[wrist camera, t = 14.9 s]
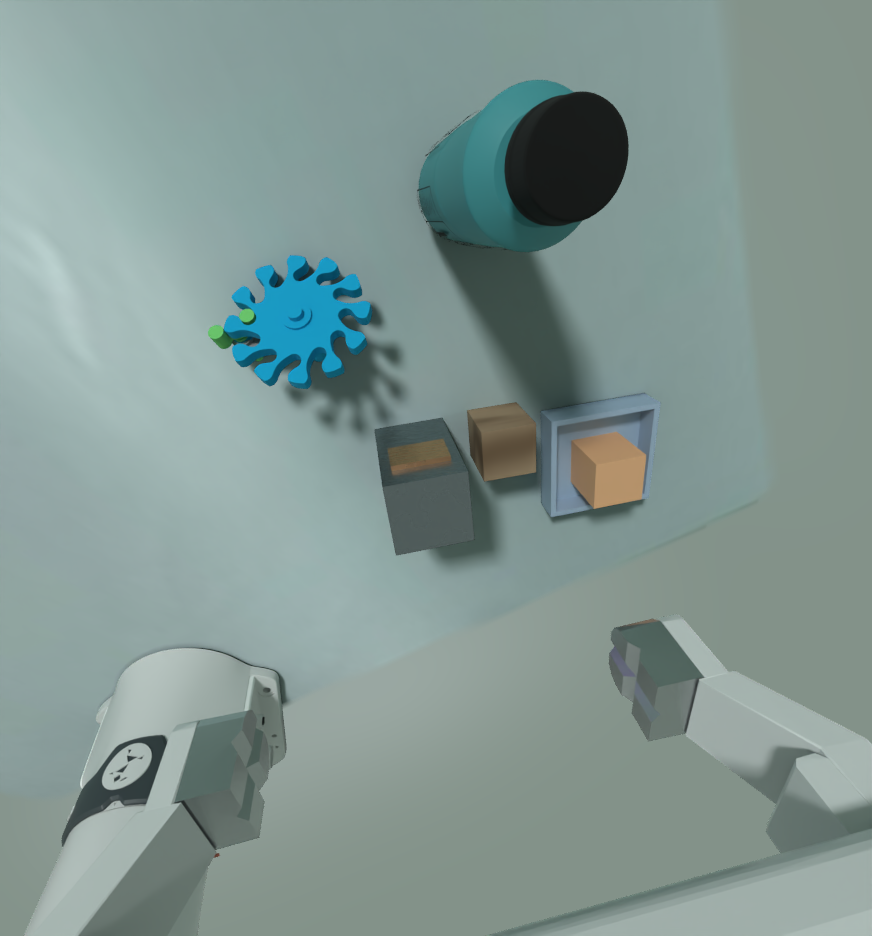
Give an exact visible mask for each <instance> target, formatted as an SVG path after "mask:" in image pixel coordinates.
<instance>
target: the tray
mask: <svg viewBox="0 0 872 936" xmlns="http://www.w3.org/2000/svg"><path fill="white" fill-rule="evenodd" d="M660 404H661V403H660V402H659V401H657V400H655V399H654V398H652V397H650V396H649V395H647V394H645V393H641V394H635V395H630V396H624V397H618V398H613V399H607V400H601V401H595V402H590V403H584V404H578V405H573V406H567V407H561V408H555V409H550V410H544V411H541V503H542V505H543V506H544V508H545V509H546V511H547V512H548V514H549V515H550V517H555V516H560V515H565V514H570V513H575V512H580V511H585V510H590V509H594V508H593V507H592V506H591V505H590V504H589V503H588V501H587V500H586V499H585V498H584V497H583V495H582V494H581V493H580V492H579V491H578V490H577V488H576V487H575V486H574V485H573V484H572V482H571V440H575V439H581V438H586V437H591V436H597V435H602V434H607V433H612V432H618V433H619V434H621V435H622V436H623V437H624V438H626V439H627V440H628V441H629V442H631V443H632V444H633V445H634V446H636V447H637V448H638V449H639V450H641V451H642V452H643V453H645V454H646V464H645V473H644V482H643V491H642V499H646V498H649V491H650V483H651V475H652V467H653V459H654V451H655V443H656V435H657V427H658V419H659V411H660ZM640 500H641V499H640ZM635 501H636V500H635ZM630 502H631V501H630ZM625 503H626V502H625Z"/></svg>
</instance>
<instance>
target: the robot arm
mask: <svg viewBox="0 0 872 936" xmlns="http://www.w3.org/2000/svg"><path fill="white" fill-rule="evenodd" d="M611 641H612V642H613V644H614V646H615V647H614V648H613V649H612V650H611V652H610V653H609V665H610V670H611V674H612V677H613V679H614V682H615V684H616V686H617V688H618V690H619V691H620V693H621V695H622V696H624V697H626V698H627V699H629V700H630V701H632V702H633V708H632V714H633V716H634V717H635V719H636V721H637V723H638V724H639V726H640V728H641V730H642V731H643V733H644V735H645V736H646V738H647V740H648V741H652V740H657V739H661V738H666V737H671V736H676V735H680V734H685V733H686V736H687V737H688V738H690V739H691V740H692V741H694V742H695V743H696V744H697V745H699V746H700V747H701V748H703V749H704V750H705V751H707V752H708V753H709V754H711V755H712V756H713V757H715V758H716V759H717V760H719V761H720V762H721V763H722V764H724V765H725V766H726V767H728V768H729V769H731V770H732V771H733V772H734V773H736V774H737V775H738V776H740V777H741V778H742V779H744V780H745V781H746V782H748V783H749V784H750V785H752V786H753V787H754V788H756V789H757V790H758V791H760V792H761V793H762V794H763V795H765V796H766V797H767V798H769V799H770V800H771V801H773V802H774V803H775V804H776V805H775V808H774V810H773V812H772V814H771V817H770V819H769V821H768V824H767V829H766V832H767V834H768V836H769V837H770V839H771V840H772V842H773V843H774V845H775V846H776V847H777V849H778V850H779V852H780V853H781V854H777V855H774V856H770V857H767V858H763V859H760V860H756V861H752V862H749V863H745V864H741V865H738V866H734V867H731V868H727V869H723V870H720V871H716V872H713V873H709V874H706V875H702V876H698V877H695V878H691V879H688V880H684V881H681V882H677V883H673V884H670V885H666V886H663V887H659V888H655V889H652V890H648V891H644V892H641V893H638V894H634V895H630V896H626V897H623V898H619V899H616V900H612V901H608V902H605V903H601V904H598V905H594V906H591V907H587V908H583V909H580V910H576V911H573V912H569V913H565V914H562V915H558V916H555V917H551V918H547V919H544V920H540V921H537V922H533V923H530V924H526V925H523V926H519V927H515V928H512V929H508V930H504V931H501V932H497V933H494V934H490V935H487V936H872V744H871V743H870V742H869V741H868V740H867V739H866V738H864V737H862V736H860V735H858V734H856V733H854V732H852V731H850V730H849V729H847V728H845V727H843V726H841V725H839V724H837V723H835V722H833V721H831V720H829V719H827V718H825V717H823V716H822V715H819V714H818V713H815V712H814V711H812V710H810V709H808V708H806V707H804V706H802V705H800V704H798V703H796V702H794V701H792V700H790V699H789V698H786V697H785V696H783V695H781V694H779V693H777V692H775V691H773V690H771V689H769V688H767V687H765V686H763V685H761V684H759V683H758V682H756V681H754V680H752V679H750V678H748V677H746V676H744V675H742V674H740V673H738V672H736V671H731V672H728V671H727V670H726V668H725V667H724V666H723V665H722V664H721V662H720V661H719V660H718V659H717V658H716V657H715V655H714V654H713V653H712V652H711V651H710V650H709V648H708V647H707V646H706V645H705V644H704V643H703V641H702V640H701V639H700V638H699V637H698V636H697V634H696V633H695V632H694V631H693V630H692V628H691V627H690V626H689V625H688V624H687V623H686V621H685V620H684V619H683V618H682V617H681V616H679V615H677V614H675V615H669V616H665V617H661V618H656V619H650V620H645V621H641V622H637V623H633V624H629V625H624V626H620V627H616V628H614V629H613V631H612V632H611ZM96 721H97V722H98V723H99V724H100V728H99V731H98V733H97V736H96V739H95V741H94V744H93V747H92V750H91V752H90V755H89V758H88V761H87V763H86V766H85V769H84V772H83V775H82V778H81V783H80V785H81V788H83V789H82V791H81V793H80V795H79V798H78V800H77V802H76V804H75V805H74V806H73V808H72V810H71V812H70V815H69V817H68V820H67V822H68V823H67V825H66V828H65V831H64V833H63V836H62V847H63V848H62V851H61V853H60V855H59V857H58V859H57V862H56V864H55V866H54V869H53V871H52V873H51V875H50V878H49V880H48V882H47V884H46V886H45V889H44V891H43V893H42V895H41V898H40V900H39V902H38V904H37V907H36V909H35V911H34V914H33V916H32V918H31V920H30V922H29V925H28V927H27V929H26V931H25V934H24V936H197V935H198V928H199V920H200V912H201V905H202V899H203V892H204V886H205V881H206V876H207V870H208V866H209V865H210V863H211V861H212V859H213V858H214V857H218V856H219V853H217V854H216V851H215V850H217V849H221V848H224V847H228V846H231V845H235V844H238V843H242V842H245V841H249V840H253V839H257V838H259V835H260V829H261V822H262V814H263V808H264V800H263V798H262V796H261V794H260V792H259V790H260V789H261V787H262V786H263V785H264V783H265V781H266V780H267V779H268V772H269V771H268V770H269V769H270V768H272V766H273V765H275V764H276V763H278V762H279V761H281V760H282V759H283V758H284V757H285V753H286V739H285V729H284V720H283V711H282V701H281V692H280V683H279V676H278V674H277V673H276V672H275V671H272V670H269V669H265V668H260V667H254V666H249V665H247V664H245V663H243V662H241V661H239V660H237V659H235V658H233V657H231V656H228V655H226V654H223V653H219V652H216V651H211V650H206V649H197V648H180V649H171V650H165V651H161V652H157V653H154V654H151V655H148V656H146V657H144V658H141V659H140V660H138V661H136V662H135V663H133V664H132V665H131V666H129V667H128V668H127V669H126V670H125V671H124V672H123V674H122V675H121V676H120V678H119V680H118V682H117V685H116V689H115V692H114V694H113V695H112V696H111V697H110V698H109V699H108V700H107V701H105V702H104V703H103V704H102V705H101V706H100V708H99V710H98V713H97V716H96Z"/></svg>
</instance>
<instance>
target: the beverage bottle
mask: <svg viewBox="0 0 872 936" xmlns="http://www.w3.org/2000/svg"><path fill="white" fill-rule="evenodd" d="M478 112H479V111H478ZM475 113H476V112H475ZM473 114H474V113H473ZM468 117H469V116H468ZM468 117H467V118H468ZM467 118H466V119H467ZM466 119H465V120H466ZM459 125H460V124H459ZM459 125H458V126H459ZM458 126H457V127H458ZM457 127H456V128H457ZM451 132H452V130H451ZM451 132H450V133H451ZM448 133H449V132H448ZM450 133H449V134H450ZM449 134H448V135H449ZM445 135H446V134H445ZM445 135H444V136H445ZM446 136H447V135H446ZM438 142H439V141H438ZM436 143H437V142H436ZM435 145H436V144H435ZM433 148H434V147H433ZM431 149H432V148H431ZM428 154H429V153H428ZM428 154H427V155H428ZM427 155H426V156H427ZM627 161H628V136H627V130H626V127H625V124H624V121H623V119H622V117H621V115H620V114H619V112H618V111H617V109H616V108H615V107H614V106H613V105H612V104H611V103H610V102H609V101H608V100H606V99H605V98H603V97H601V96H599V95H597V94H594V93H590V92H573V91H571V90H570V89H568V88H567V87H565V86H563V85H561V84H558V83H556V82H551V81H547V80H531V81H525V82H522V83H518V84H516V85H514V86H511V87H509V88H508V89H506V90H504V91H503V92H501V93H500V94H498V95H497V96H496V97H495V98H494V99H492V100H491V101H490V102H489V103H488V105H487V106H486V107H485V108H484V109H483V110H482V111H480V112H479V113H478V114H477V115H475V116H474V117H473V118H472V119H470V120H468V121H467V122H465V123H464V124H462V125H461V126H460V127H458V128H457V129H456V130H455V131H454V132H453V133H451V134H450V135H449V136H448V137H447V138H445V139H443V141H442V142H441V143H440V144H438V145H437V146H436V147H435V148H434V149H433V150H432V151H431V152H430V154H429V156H428V157H427V159H426V161H425V163H424V165H423V168H422V170H421V174H420V179H419V189H418V190H417V191H419V199H420V203H418V204H421V207H422V208H421V209H422V210H423V211H422V210H421V211H422V212H423V214H424V215H425V217H426V219H427V221H426V223H427V222H429V223H430V225H431V226H432V227H433V228H434V229H435V230H436V231H437V233H438V234H439V236H440V237H441V236H444V237H446V238H448V240H450V239H451V240H455V242H456V241H458V242H459V241H460V242H463V243H464V242H466V243H467V244H468V243H472V244H478V245H484V247H485V246H487V247H488V246H490V248H491V247H493V248H494V247H503V248H505V249H506V250H507V249H509V250H512V251H518V252H533V251H539V250H542V249H546V248H548V247H551V246H553V245H555V244H557V243H558V242H560V241H562V240H563V239H564V238H566V237H567V236H568V235H569V234H570V233H571V232H573V231H574V230H575V229H576V228H577V226H578V225H579V224H580V223H581V222H582V220H585V219H587V218H590V217H591V216H593V215H595V214H596V213H597V212H599V211H600V210H601V209H602V208H604V207H605V206H606V205H607V204H608V202H609V201H610V200H611V199H612V198H613V196H614V195H615V193H616V192H617V190H618V188H619V186H620V184H621V182H622V179H623V177H624V173H625V170H626V166H627ZM417 198H418V197H417ZM422 212H421V213H422ZM458 242H457V244H458ZM461 244H462V243H461ZM462 245H466V244H462ZM470 245H471V244H470ZM472 247H474V246H472ZM477 248H479V247H477ZM488 248H489V247H488ZM486 249H487V248H486ZM505 249H503V250H505Z"/></svg>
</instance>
